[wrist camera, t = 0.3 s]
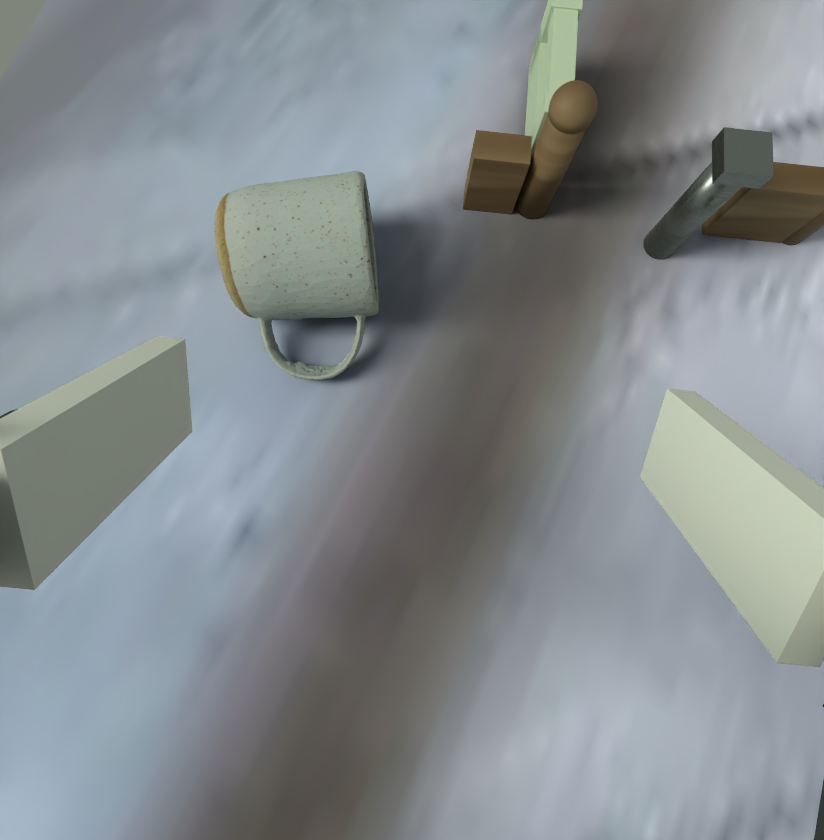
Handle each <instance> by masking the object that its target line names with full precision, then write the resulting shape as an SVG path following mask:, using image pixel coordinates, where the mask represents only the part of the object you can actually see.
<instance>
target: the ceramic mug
mask: <svg viewBox="0 0 824 840" xmlns="http://www.w3.org/2000/svg"><path fill="white" fill-rule="evenodd" d="M215 239H216V248H217V254H218V261H219V265H220V269H221V272H222V276H223V280H224V283H225V286H226V289H227V291H228V293H229V295H230V298H231V299H232V301H233V302H234V304H235V306H236V307H237V308H239V309H240V310H241V311H242V312H243V313H244V314H245V315H247V316H249V317H252V318H256V319H258V320H259V321H260V329H261V336H262V339H263V342H264V345H265V348H266V350H267V352H268V354H269V355H270V357H271V359H272V360H273V362H274V363H275V364H277V365H278V366H279V367H280V368H281V369H282V370H283V371H285V372H287V373H288V374H290V375H292V376H294V377H298V378H301V379H308V380H324V379H329V378H333V377H335V376H337V375H339V374H340V373H342V372H343V371H345V370H346V369H347V367H348V366H349V365H350V364H351V363H352V361H353V360H354V359H355V357H356V355H357V354H358V351H359V349H360V347H361V343H362V339H363V334H364V328H365V318H366V317H367V316H374V315H377V314H378V312H379V293H378V276H377V266H376V255H375V245H374V234H373V226H372V216H371V211H370V203H369V196H368V190H367V185H366V180H365V175H364V174H363V173H361V172H358V171H353V172H347V173H341V174H334V175H326V176H318V177H310V178H303V179H297V180H291V181H284V182H276V183H266V184H257V185H252V186H248V187H245V188H242V189H239V190H236V191H233V192H231V193H228V194H226V195H225V196H224V197H223V198H222V200H221V201H220V203H219V206H218V209H217V211H216V217H215ZM336 317H337V318H340V317H355V318H356V320H357V331H356V334H355V338H354V342H353V345H352V348H351V350H350V352H349V354H348V355H347V356H346V357H345V358H344V360H343V361H341V362H340V363H339V364H338V365H336V366H313V365H306V364H304V363H303V362H296V363H292V362H289V361H288V360H287V359H286V358H285V356H284V355H283V354H282V353H281V352H280V350H279V348H278V345H277V343H276V342H275V338H274V335H273V332H272V325H271V322H272V320H289V319H304V318H336Z"/></svg>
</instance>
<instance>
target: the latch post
mask: <svg viewBox="0 0 824 840" xmlns="http://www.w3.org/2000/svg"><path fill="white" fill-rule="evenodd" d="M772 177H773V143H772V133H771V132H761V131H752V130H743V129H733V128H723V129H722V130H721V132H720V133H719V134H718V135H717V136H716V138H715V139H714V140H713V141H712V162H711V164H710V165H709V166H708V167H707V168H706V169H705V170H704V171H703V173H702V174H701V175H700V176H699V177H698V178H697V179H696V180H695V182H694V183H693V184H692V185H691V186H690V187H689V188H688V189H687V191H686V192H685V193H684V194H683V195H682V196H681V197H680V198H679V200H678V201H677V202H676V203H675V204H674V205H673V206H672V208H671V209H670V210H669V211H668V212H667V213H666V214H665V215H664V217H663V218H662V219H661V220H660V221H659V222H658V223H657V224H656V226H655V227H654V228H653V229H652V230H651V231H650V232H649V233H648V235H647V236H646V237H645V239H644V249H645V251H646V252H647V254H648V255H650V256H651V257H653V258H655V259H665V258H667V257H669V256H670V255H671V254H672V253H673V252H674V251H675V250H676V249H677V248H678V247H679V246H680V245H681V244H682V243H684V242H685V241H686V240H687V239H688V238H689V237H690V236H691V235H692V234H693V233H694V232H695V231H696V230H697V229H698V228H699V227H700V226H701V225H702V224H703V223H704V222H705V221H706V220H707V219H709V218H710V217H711V216H712V215H713V214H714V213H715V212H716V211H717V210H718V209H719V208H720V207H721V206H722V205H723V204H724V203H725V202H726V201H727V200H728V199H729V198H730V197H731V196H733V195H734V194H735V193H736V192H737V191H738V190H739V189H740V188H741V187H746V188H756V189H760V188H761V187H762V186H763V185H764V184H765V183H767V182H768V181H769V180H770V179H771V178H772Z"/></svg>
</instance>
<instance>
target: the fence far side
mask: <svg viewBox="0 0 824 840" xmlns="http://www.w3.org/2000/svg"><path fill="white" fill-rule="evenodd" d="M823 226H824V167H815V166H806V165H796V164H787V163H778V162H773V177H772V178H771V179H770V180H769V181H768V182H767V183H765V184H764V185H763V186H762V187H761V188H760V189H756V188H746V187H741V188H740V189H739V190H738V191H737V192H736V193H735V194H734V195H733V196H731V197H730V198H729V199H728V200H727V201H726V202H725V203H724V204H723V205H722V206H721V207H720V208H719V209H718V210H717V211H716V212H715V213H714V214H713V215H712V216H711V217H710V218H709V219H707V220H706V221H705V222H704V223H703V224H702V234H703V235H713V236H722V237H732V238H741V239H751V240H760V241H770V242H779V243H780V242H782V243H784V244H787V245H795V244H798V243H799V242H801V241H802V240H804V239H805V238H806V237H808V236H809V235H811V234H812V233H814V232H815V231H817V230H818V229H820V228H821V227H823Z"/></svg>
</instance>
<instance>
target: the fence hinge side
mask: <svg viewBox="0 0 824 840" xmlns="http://www.w3.org/2000/svg"><path fill="white" fill-rule="evenodd" d="M597 108H598V99H597V95H596V92H595V90H594V89H593V88H592V86H591V85H589V84H588V83H586V82H584V81H581V80H573V81H569V82H567V83H565V84H563V85H562V86H560V87H559V88H558V89H557V90H556V91H555V93H554V94H553V96H552V98H551V100H550V104H549V109H548V114H547V117H546V119H545V122H544V125H543V127H542V130H541V133H540V135H539V138H538V141H537V144H536V146H535V149H534V152H533V154H532V157H531V144H532V136H526V135H516V134H507V133H498V132H488V131H479V130H476V134H475V139H474V144H473V149H472V154H471V159H470V164H469V169H468V174H467V179H466V183H465V193H464V204H463V209H467V210H477V211H486V212H496V213H505V214H512V211H513V209H514V206H516V209H517V211H518V212H519V213H520V214H521V215H522V216H523V217H525V218H528V219H537V218H540V217H542V216H543V215H544V214H545V213H546V212H547V210H548V208H549V206H550V203H551V201H552V199H553V197H554V195H555V193H556V191H557V189H558V187H559V185H560V183H561V181H562V179H563V177H564V175H565V173H566V171H567V169H568V167H569V165H570V163H571V160H572V158H573V156H574V154H575V152H576V150H577V148H578V146H579V144H580V142H581V140H582V138H583V136H584V134H585V132H586V130H587V128H588V126H589V125H590V124H591V123H592V121H593V120H594V118H595V115H596V113H597ZM530 159H531V160H530Z"/></svg>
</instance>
